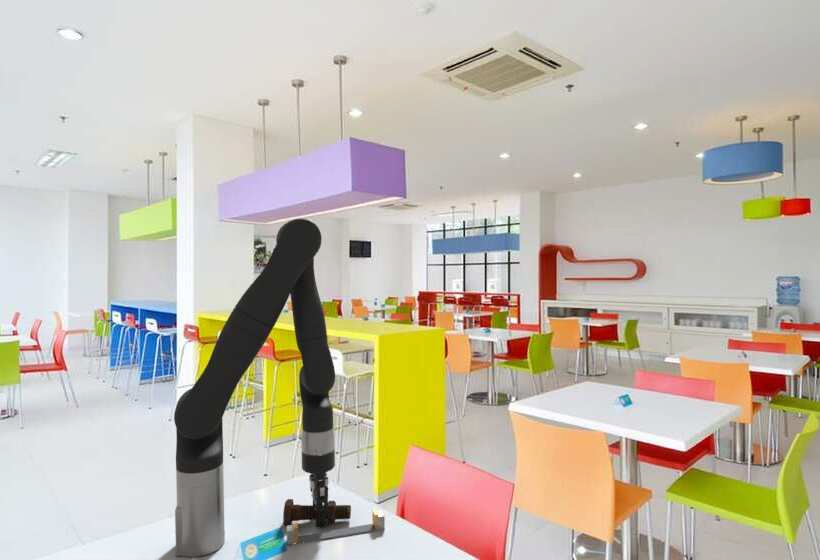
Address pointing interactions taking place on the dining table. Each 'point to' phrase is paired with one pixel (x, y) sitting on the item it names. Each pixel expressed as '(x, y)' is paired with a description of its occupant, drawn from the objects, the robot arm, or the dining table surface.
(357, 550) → the dining table surface
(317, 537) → the pad
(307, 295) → the robot arm
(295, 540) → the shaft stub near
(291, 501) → the bolt
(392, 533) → the dining table surface
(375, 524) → the small wooden block
